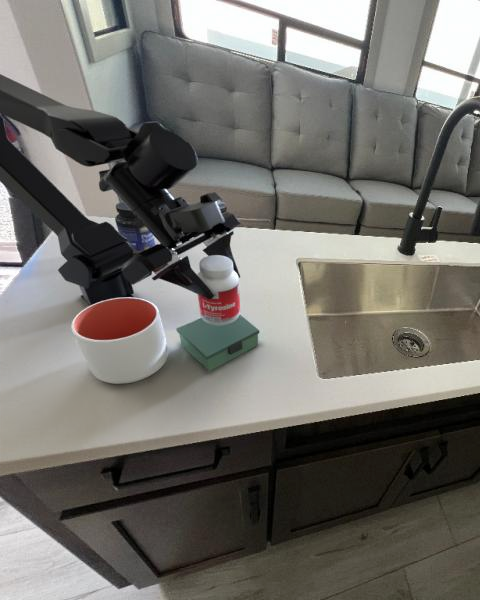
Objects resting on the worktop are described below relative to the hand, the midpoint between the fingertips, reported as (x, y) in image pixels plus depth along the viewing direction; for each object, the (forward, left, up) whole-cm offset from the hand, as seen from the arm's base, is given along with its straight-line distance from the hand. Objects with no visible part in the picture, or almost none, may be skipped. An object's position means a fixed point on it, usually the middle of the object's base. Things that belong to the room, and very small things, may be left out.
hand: (225, 287), depth 54 cm
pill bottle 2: (-1, +1, -7) cm, 7 cm away
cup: (-13, +6, -13) cm, 20 cm away
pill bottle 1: (+3, +39, -13) cm, 41 cm away
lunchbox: (-1, +1, -13) cm, 13 cm away
